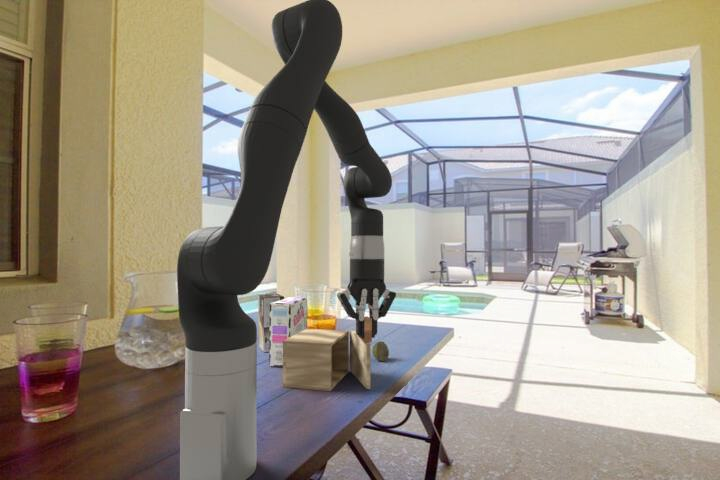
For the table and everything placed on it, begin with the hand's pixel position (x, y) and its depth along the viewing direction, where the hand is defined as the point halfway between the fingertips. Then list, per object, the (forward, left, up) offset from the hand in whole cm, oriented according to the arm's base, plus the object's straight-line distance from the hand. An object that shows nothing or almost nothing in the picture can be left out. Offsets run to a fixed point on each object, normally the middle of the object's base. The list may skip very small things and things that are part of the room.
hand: (366, 337), depth 87 cm
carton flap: (+5, +3, -11) cm, 12 cm away
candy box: (+17, +26, -11) cm, 33 cm away
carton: (+4, +13, -11) cm, 17 cm away
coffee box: (+28, +37, -11) cm, 47 cm away
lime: (+23, +2, -11) cm, 25 cm away
